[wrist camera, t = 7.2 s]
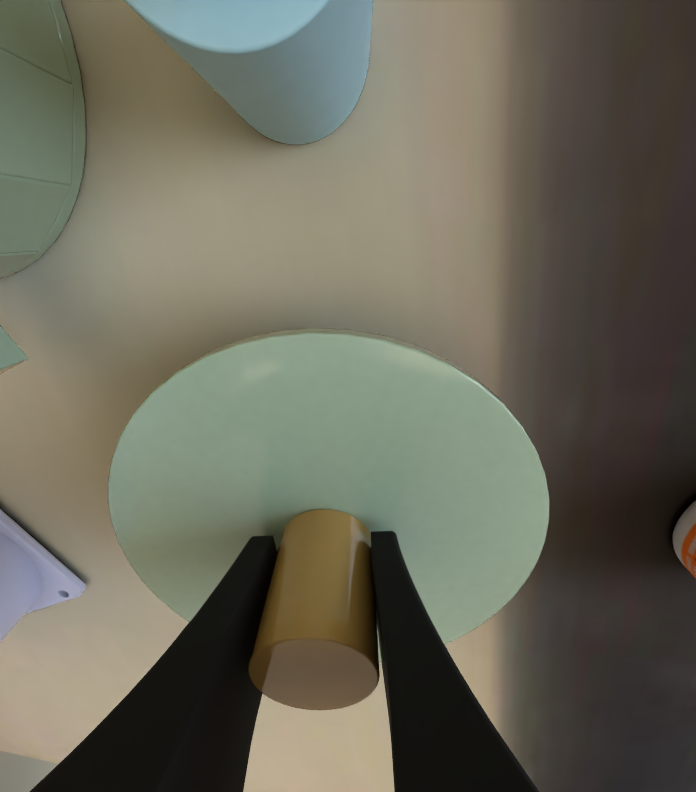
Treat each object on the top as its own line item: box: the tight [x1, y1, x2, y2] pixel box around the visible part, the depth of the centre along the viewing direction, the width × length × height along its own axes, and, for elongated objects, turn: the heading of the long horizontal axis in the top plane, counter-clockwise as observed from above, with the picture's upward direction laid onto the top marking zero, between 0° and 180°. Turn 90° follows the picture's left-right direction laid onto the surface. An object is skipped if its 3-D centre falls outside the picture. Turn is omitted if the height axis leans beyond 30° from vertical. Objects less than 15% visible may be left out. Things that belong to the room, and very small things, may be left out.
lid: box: [108, 328, 549, 710], centre depth 9 cm, size 13×13×5 cm
